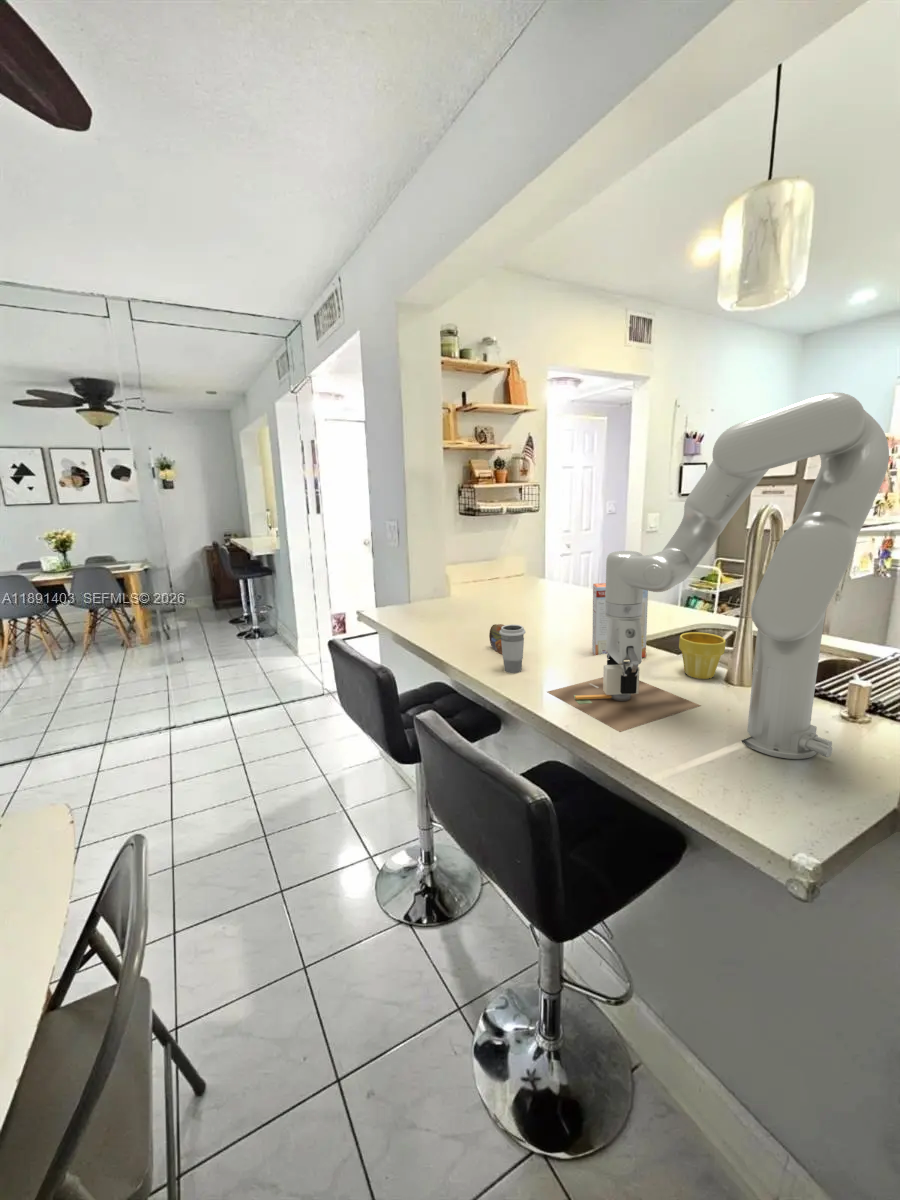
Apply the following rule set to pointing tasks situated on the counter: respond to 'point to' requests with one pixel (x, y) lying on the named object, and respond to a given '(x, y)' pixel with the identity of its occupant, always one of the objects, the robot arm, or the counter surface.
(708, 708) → the counter surface
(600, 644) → the cracker box
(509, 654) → the cup
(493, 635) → the tin
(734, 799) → the counter surface
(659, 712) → the dial board
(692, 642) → the plant pot
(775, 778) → the counter surface
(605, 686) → the knob
